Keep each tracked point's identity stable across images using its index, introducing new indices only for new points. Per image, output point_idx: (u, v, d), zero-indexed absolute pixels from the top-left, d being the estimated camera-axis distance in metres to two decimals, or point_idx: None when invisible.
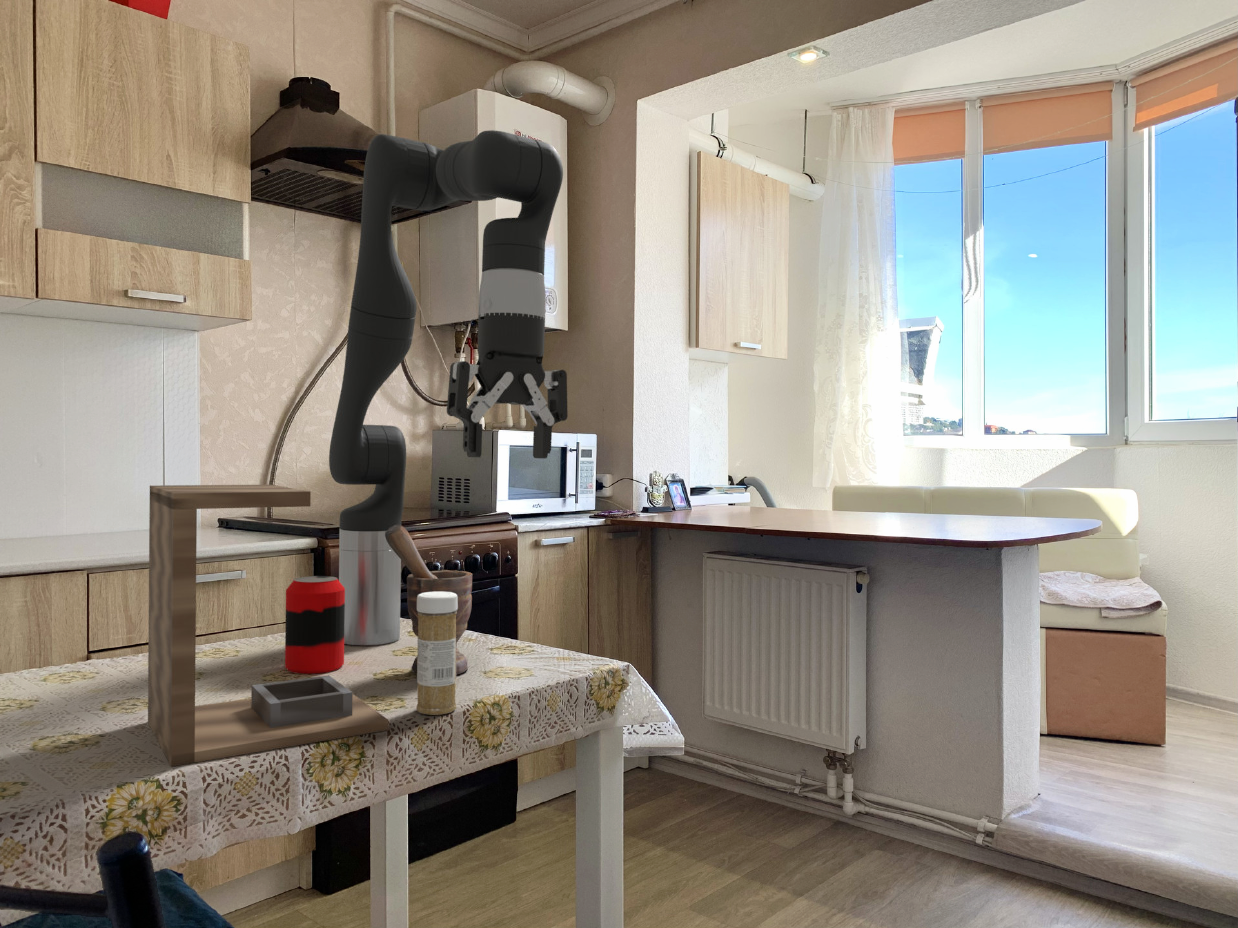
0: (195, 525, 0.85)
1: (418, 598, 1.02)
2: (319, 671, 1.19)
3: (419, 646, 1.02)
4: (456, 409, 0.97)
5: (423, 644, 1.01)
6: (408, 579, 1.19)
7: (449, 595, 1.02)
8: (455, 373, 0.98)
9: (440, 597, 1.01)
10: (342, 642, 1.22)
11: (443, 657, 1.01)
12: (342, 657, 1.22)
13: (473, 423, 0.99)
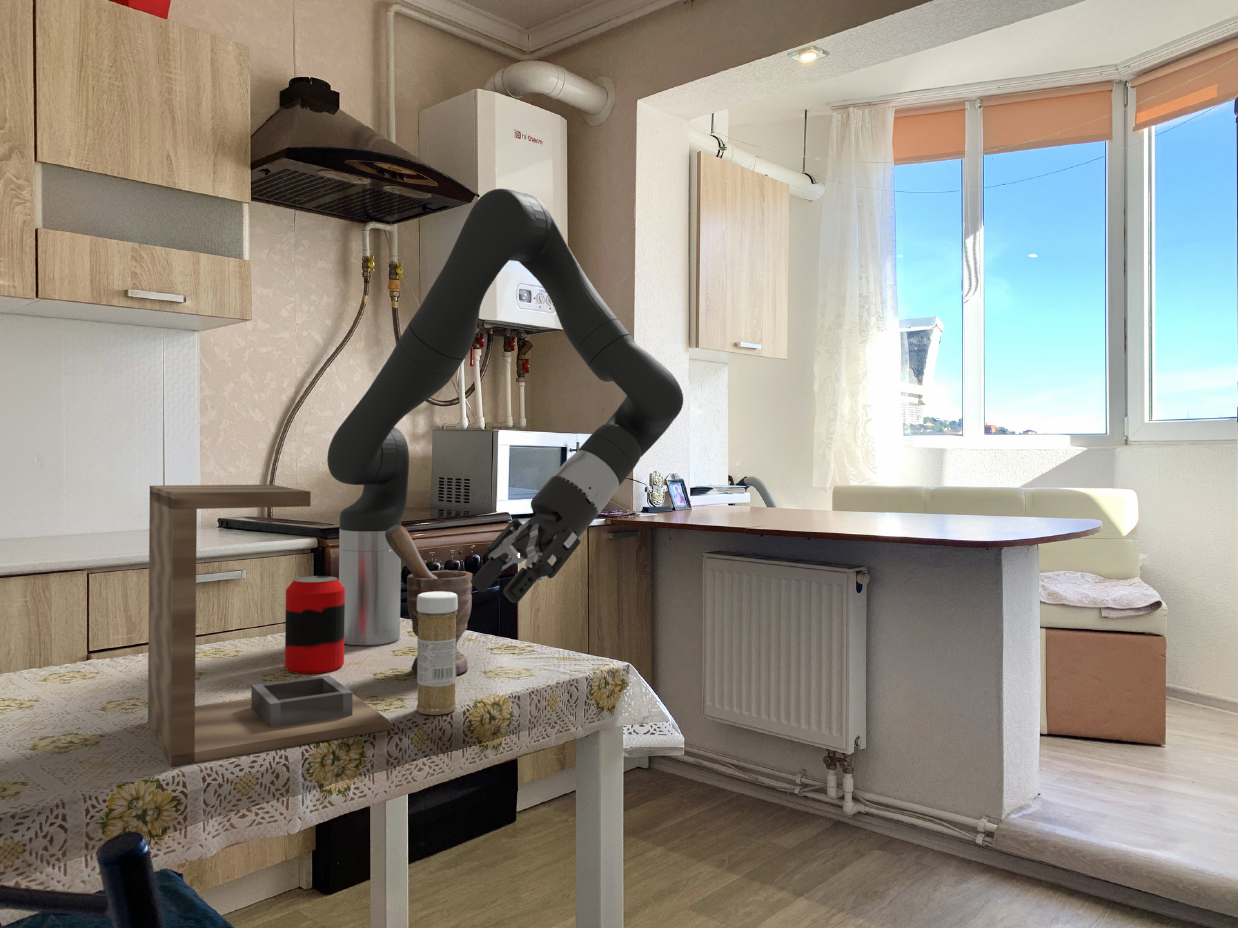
0: (195, 525, 0.85)
1: (418, 598, 1.02)
2: (319, 671, 1.19)
3: (419, 646, 1.02)
4: (555, 573, 1.04)
5: (423, 644, 1.01)
6: (408, 579, 1.19)
7: (449, 595, 1.02)
8: (570, 543, 1.05)
9: (440, 597, 1.01)
10: (342, 642, 1.22)
11: (443, 657, 1.01)
12: (342, 657, 1.22)
13: None
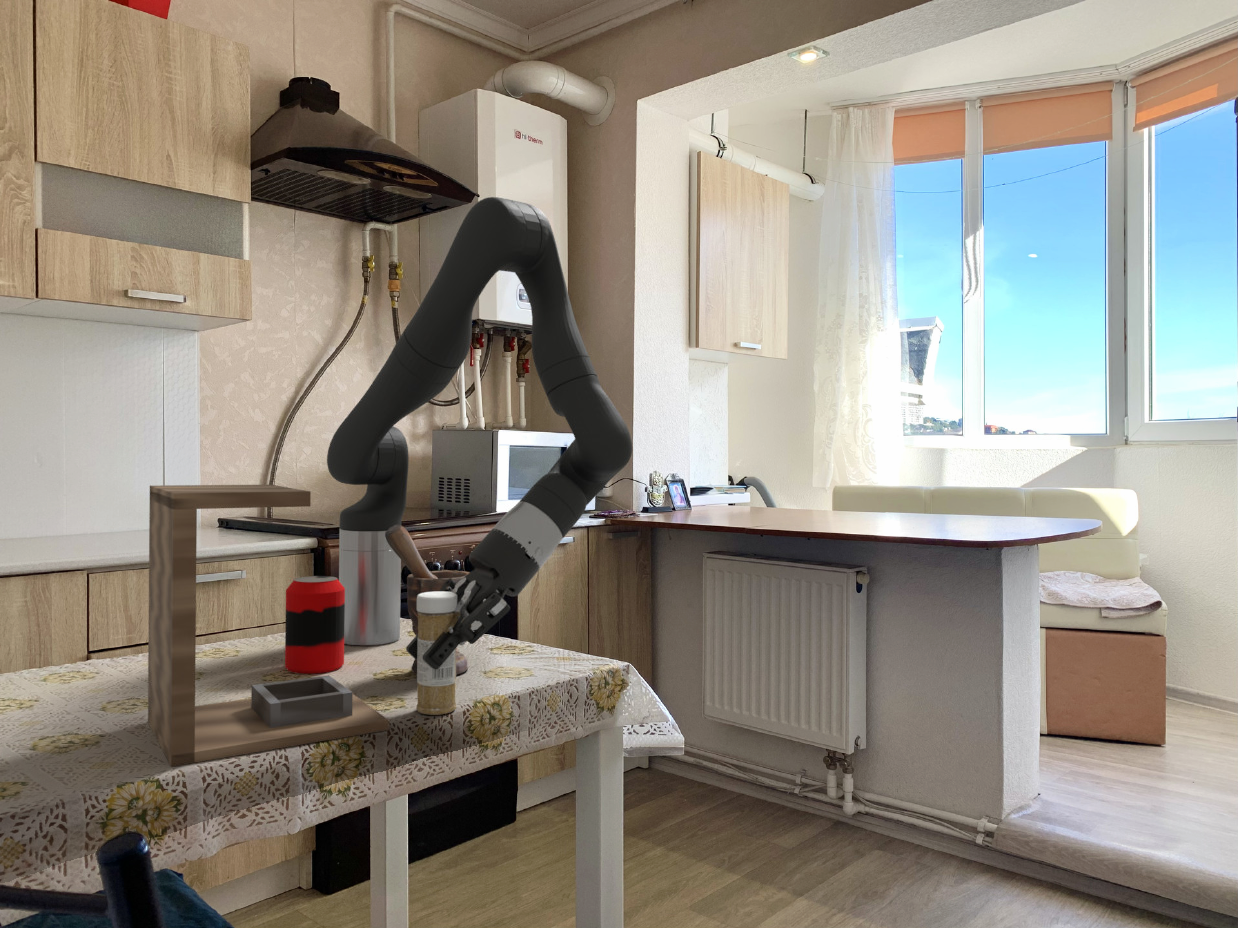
0: (195, 525, 0.85)
1: (418, 598, 1.02)
2: (319, 671, 1.19)
3: (419, 646, 1.02)
4: (475, 640, 1.00)
5: (422, 644, 1.01)
6: (408, 579, 1.19)
7: (449, 595, 1.02)
8: (496, 611, 1.00)
9: (440, 597, 1.01)
10: (342, 642, 1.22)
11: None
12: (342, 657, 1.22)
13: None
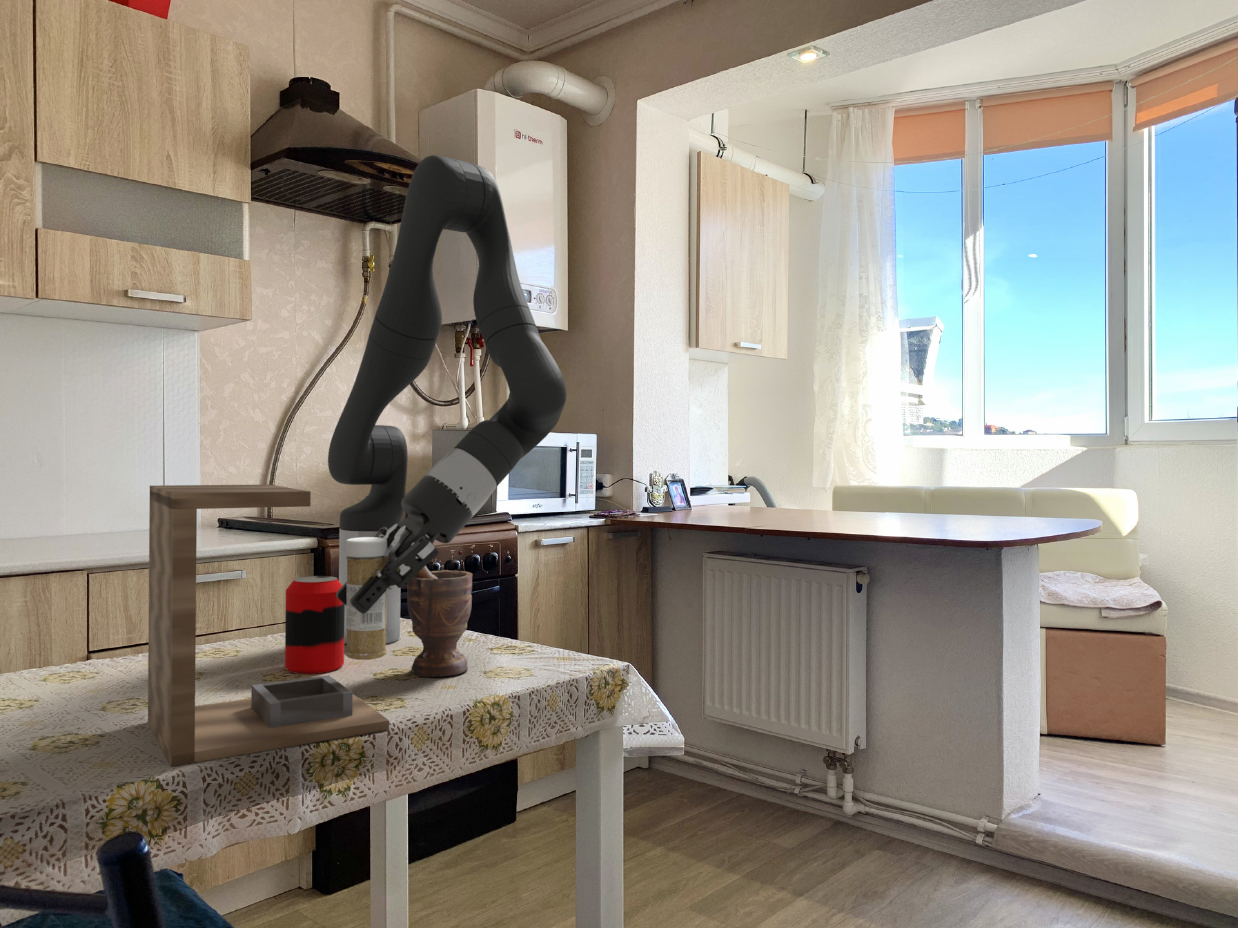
0: (195, 525, 0.85)
1: (346, 542, 1.01)
2: (319, 671, 1.19)
3: (347, 591, 1.01)
4: (403, 584, 0.99)
5: (351, 589, 1.01)
6: None
7: (378, 539, 1.01)
8: (424, 554, 0.99)
9: (368, 541, 1.00)
10: (342, 642, 1.22)
11: None
12: (342, 657, 1.22)
13: None
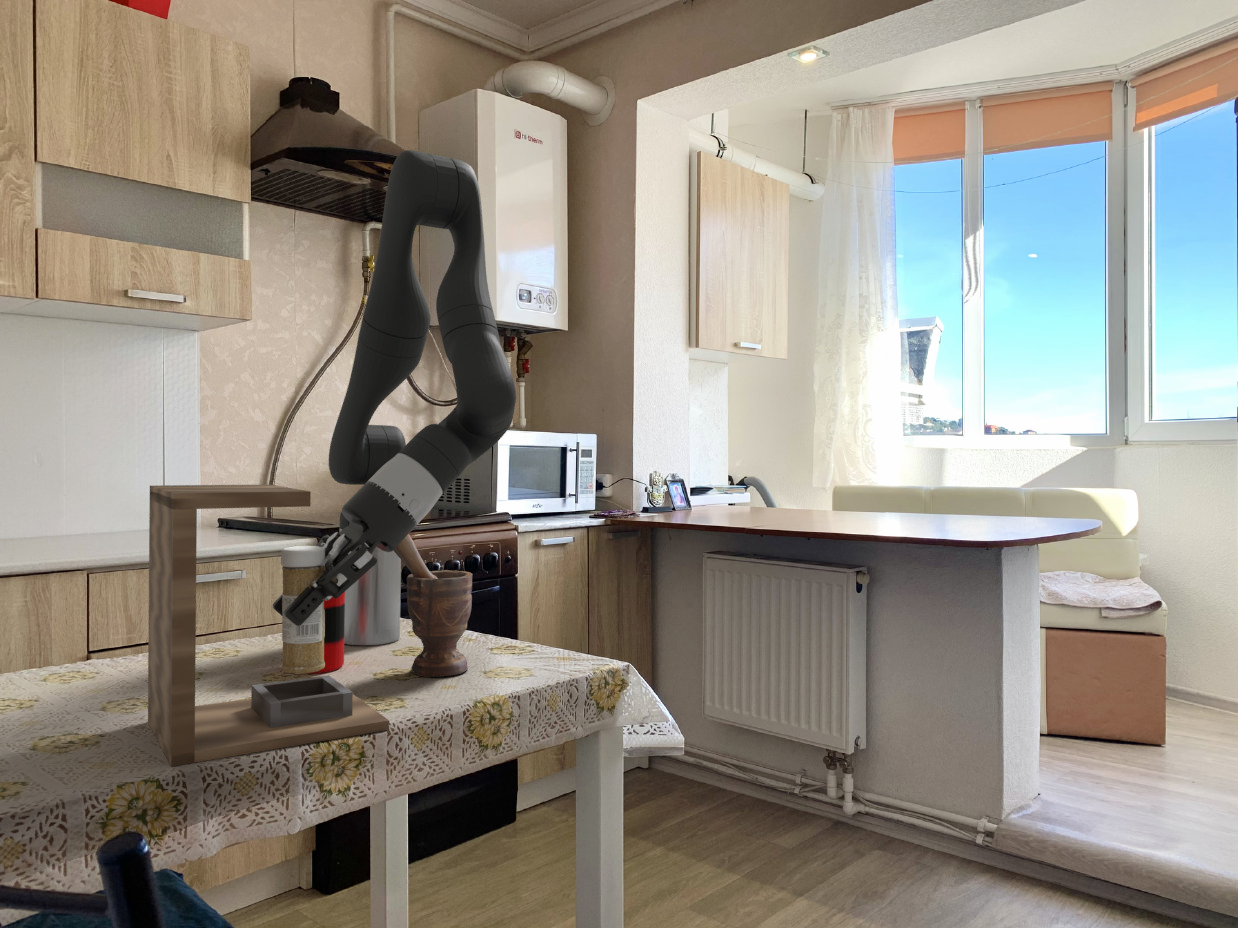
0: (195, 525, 0.85)
1: (281, 552, 0.97)
2: (319, 671, 1.19)
3: (283, 602, 0.97)
4: (339, 595, 0.95)
5: (286, 600, 0.97)
6: (408, 579, 1.19)
7: (314, 548, 0.98)
8: (361, 564, 0.95)
9: (303, 550, 0.97)
10: (342, 642, 1.22)
11: None
12: (342, 657, 1.22)
13: None
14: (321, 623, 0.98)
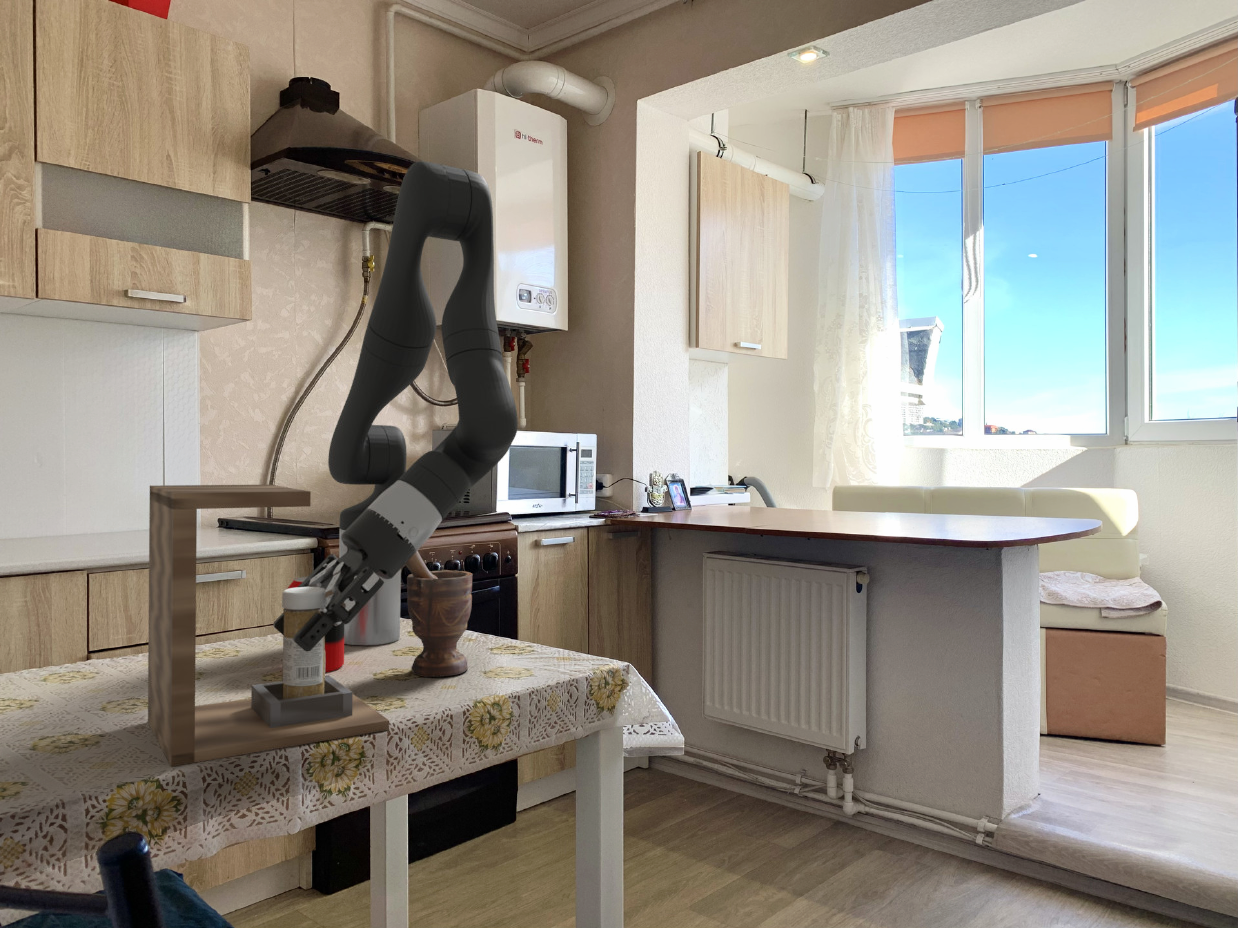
0: (195, 525, 0.85)
1: (283, 593, 0.97)
2: None
3: (284, 644, 0.97)
4: (350, 619, 0.94)
5: (287, 642, 0.97)
6: (408, 579, 1.19)
7: (316, 590, 0.98)
8: (370, 585, 0.96)
9: (305, 592, 0.97)
10: (342, 642, 1.22)
11: (308, 656, 0.97)
12: (342, 657, 1.22)
13: None
14: (322, 665, 0.98)
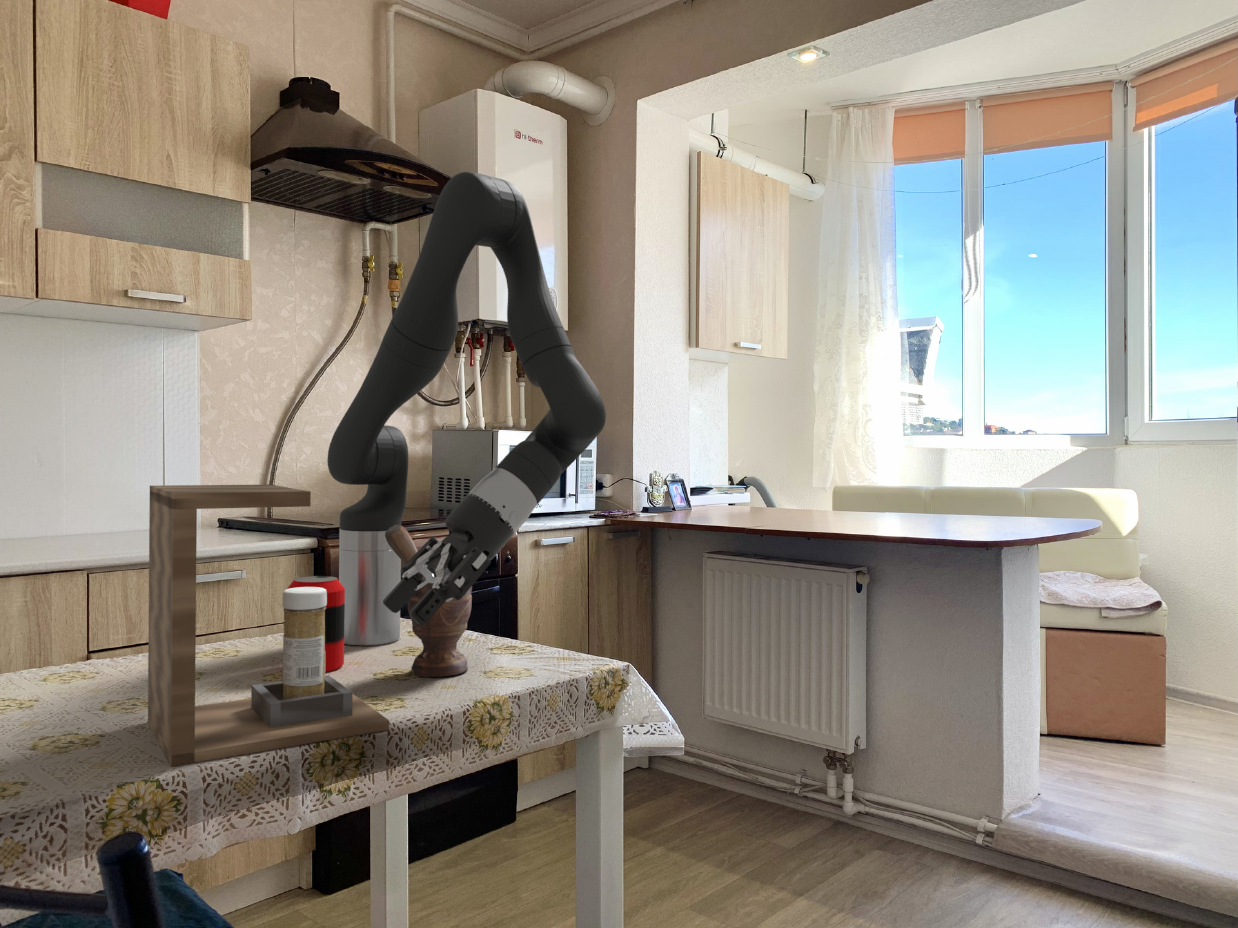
0: (195, 525, 0.85)
1: (283, 593, 0.97)
2: None
3: (284, 644, 0.97)
4: (462, 595, 1.01)
5: (287, 642, 0.97)
6: None
7: (316, 590, 0.98)
8: (479, 564, 1.03)
9: (305, 592, 0.97)
10: (342, 642, 1.22)
11: (308, 656, 0.97)
12: (342, 657, 1.22)
13: None
14: (322, 665, 0.98)
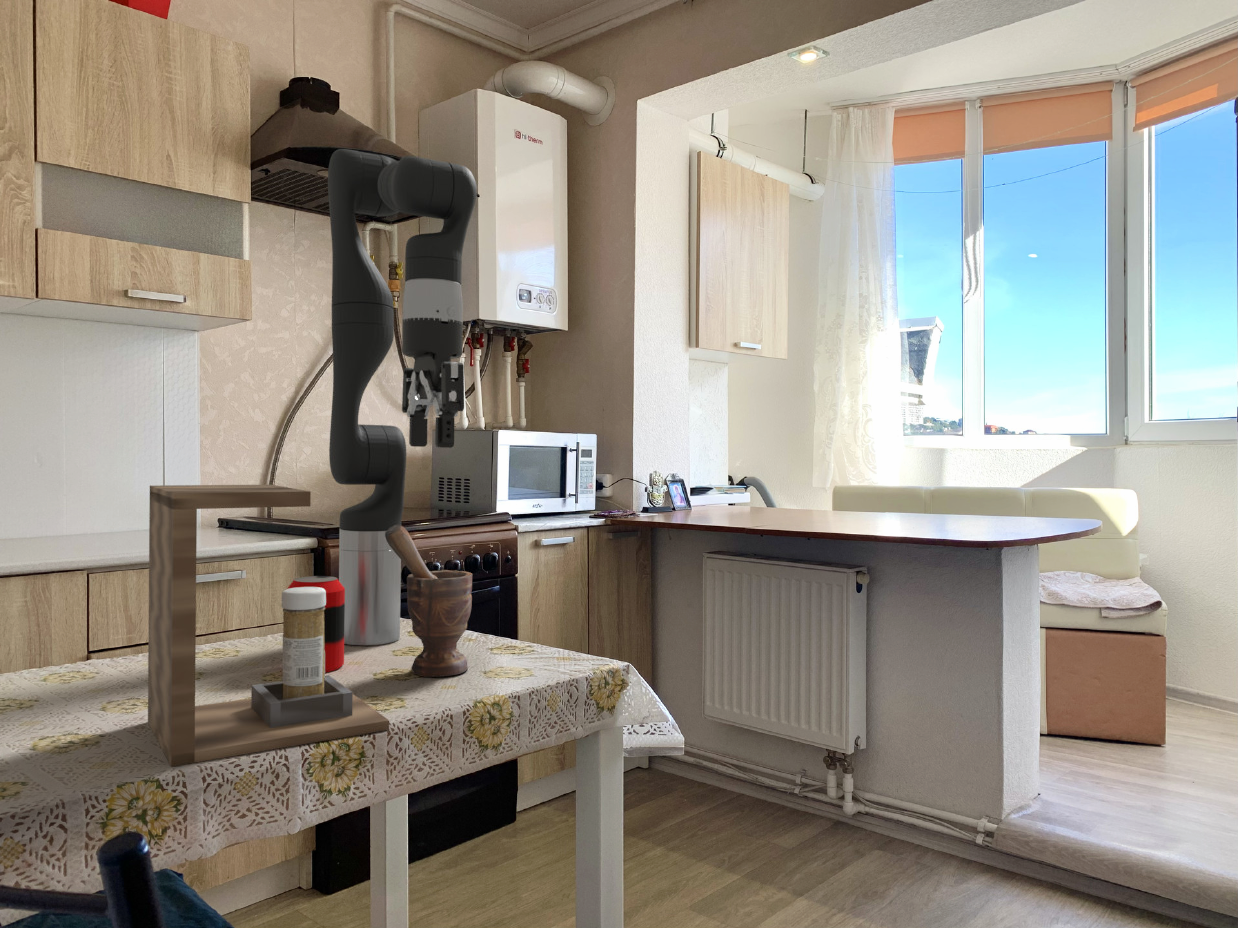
0: (195, 525, 0.85)
1: (282, 594, 0.97)
2: None
3: (283, 644, 0.97)
4: (463, 405, 1.10)
5: (286, 642, 0.97)
6: (408, 579, 1.19)
7: (315, 591, 0.97)
8: (456, 372, 1.09)
9: (304, 593, 0.96)
10: (342, 642, 1.22)
11: (307, 656, 0.97)
12: (342, 657, 1.22)
13: None
14: (321, 665, 0.98)
